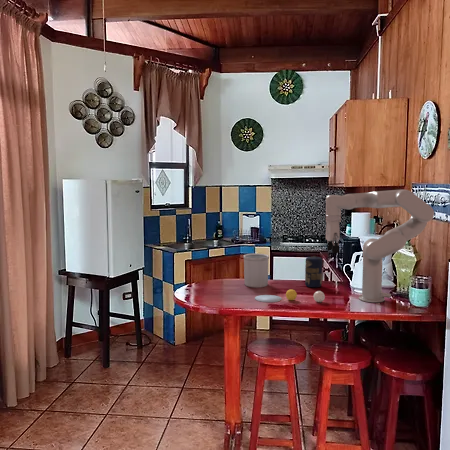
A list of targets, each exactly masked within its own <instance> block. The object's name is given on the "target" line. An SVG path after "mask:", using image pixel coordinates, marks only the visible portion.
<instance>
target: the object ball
mask: <svg viewBox="0 0 450 450" xmlns="http://www.w3.org/2000/svg"><path fill="white" fill-rule="evenodd" d="M297 295H298V293H297V292H296V290H295V289H288V290H287V291H286V293H285V297H286V299H287V300H289V301H295V300H296V299H297Z"/></svg>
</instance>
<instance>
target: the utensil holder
mask: <svg viewBox="0 0 450 450" xmlns="http://www.w3.org/2000/svg"><path fill="white" fill-rule="evenodd" d="M269 258H270V255H268V254H267V253H266V254H265V253H247V254H244V255H243V270H244V271H243V276H244V286H246V287H250V288H263V287H267V286H268V284H269Z"/></svg>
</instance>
